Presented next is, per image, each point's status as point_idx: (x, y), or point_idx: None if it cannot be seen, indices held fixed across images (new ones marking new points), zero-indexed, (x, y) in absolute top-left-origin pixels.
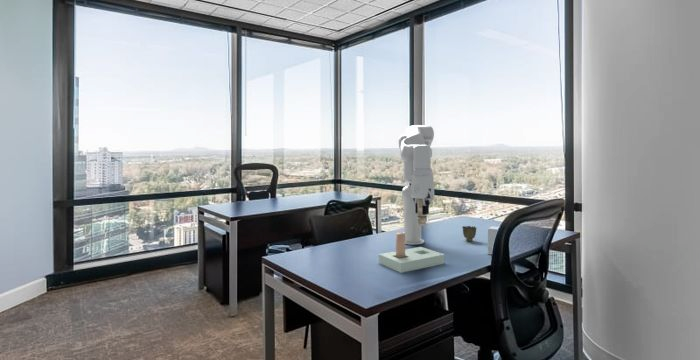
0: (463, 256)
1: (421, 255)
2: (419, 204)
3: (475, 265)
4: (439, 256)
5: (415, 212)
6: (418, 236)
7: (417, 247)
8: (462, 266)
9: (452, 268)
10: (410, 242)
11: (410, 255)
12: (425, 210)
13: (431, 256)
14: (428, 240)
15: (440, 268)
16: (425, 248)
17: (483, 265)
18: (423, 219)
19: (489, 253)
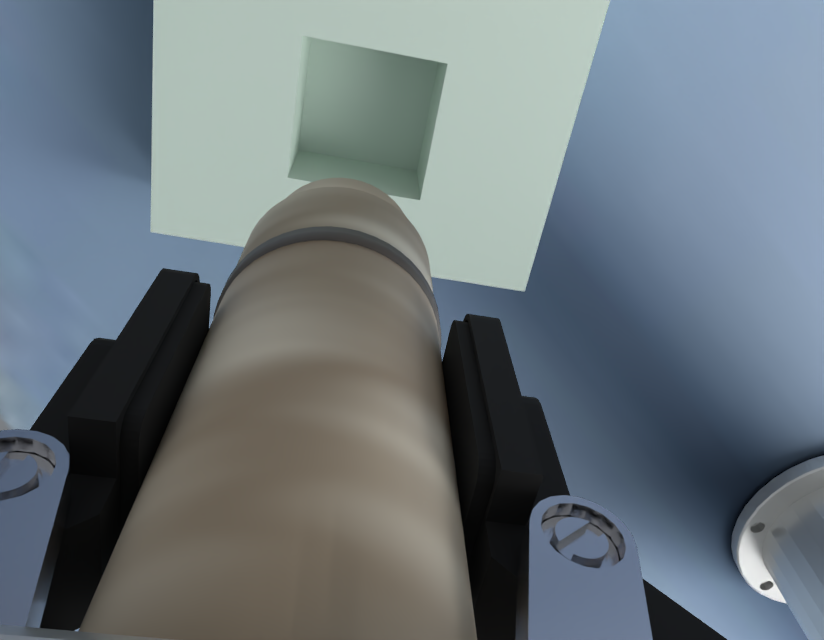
0: None
1: (273, 3)
2: (260, 439)
3: (42, 371)
4: (154, 158)
5: (499, 321)
6: (790, 571)
7: (531, 243)
8: (77, 281)
9: (78, 175)
10: (817, 479)
11: None
12: (83, 365)
13: (170, 60)
14: (742, 627)
15: (138, 92)
16: (443, 272)
17: (11, 410)
18: (241, 256)
19: None
